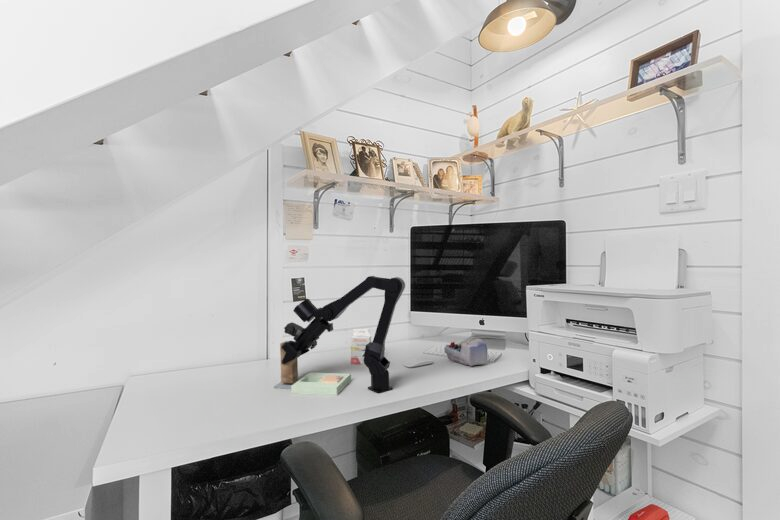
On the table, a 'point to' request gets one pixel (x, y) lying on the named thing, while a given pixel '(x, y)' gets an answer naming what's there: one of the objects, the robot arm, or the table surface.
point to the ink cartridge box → (359, 345)
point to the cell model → (468, 352)
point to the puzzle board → (321, 383)
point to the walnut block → (288, 368)
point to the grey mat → (285, 385)
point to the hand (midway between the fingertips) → (285, 361)
